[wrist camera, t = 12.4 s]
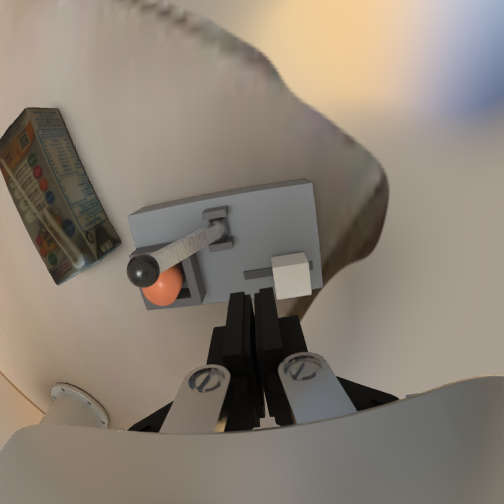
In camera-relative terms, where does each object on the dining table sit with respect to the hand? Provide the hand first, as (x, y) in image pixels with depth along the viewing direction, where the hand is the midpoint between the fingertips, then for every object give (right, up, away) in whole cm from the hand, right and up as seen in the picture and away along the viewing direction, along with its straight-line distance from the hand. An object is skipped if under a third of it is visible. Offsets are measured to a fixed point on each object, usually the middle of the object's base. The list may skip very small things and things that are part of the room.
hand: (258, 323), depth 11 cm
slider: (+3, +1, +16) cm, 16 cm away
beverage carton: (-22, +10, +18) cm, 30 cm away
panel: (-3, +4, +19) cm, 20 cm away
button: (-8, +1, +15) cm, 17 cm away
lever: (-3, +5, +13) cm, 15 cm away
